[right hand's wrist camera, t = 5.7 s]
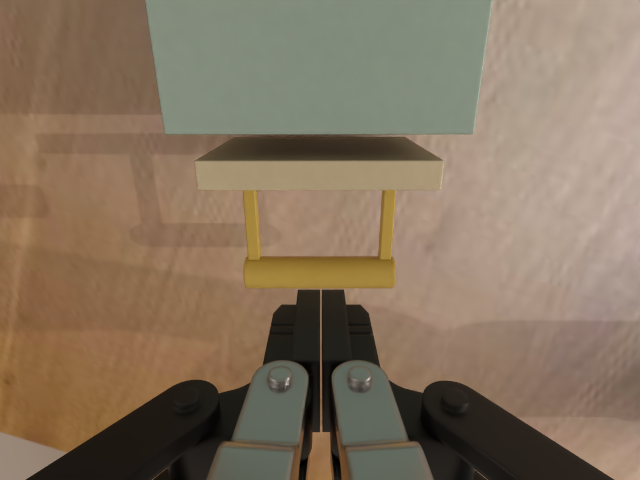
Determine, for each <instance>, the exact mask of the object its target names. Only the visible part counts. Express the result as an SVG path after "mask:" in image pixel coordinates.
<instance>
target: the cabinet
mask: <svg viewBox="0 0 640 480" xmlns="http://www.w3.org/2000/svg"><path fill="white" fill-rule="evenodd" d="M492 2H493V0H145V4H146V11H147V18H148V25H149V31H150V38H151V45H152V52H153V59H154V65H155V72H156V79H157V86H158V93H159V99H160V106H161V113H162V120H163V127H164V133H165V134H167V135H272V134H473V133H474V128H475V121H476V114H477V107H478V100H479V93H480V86H481V79H482V72H483V65H484V58H485V51H486V44H487V37H488V30H489V23H490V16H491V9H492Z"/></svg>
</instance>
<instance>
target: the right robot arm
mask: <svg viewBox="0 0 640 480" xmlns="http://www.w3.org/2000/svg"><path fill="white" fill-rule="evenodd" d="M322 427H323V432H330V442H331V452H330V462H331V471H332V480H487V479H488V480H614V479H612V478H611V477H609V476H608V475H606V474H604V473H603V472H601V471H600V470H598V469H597V468H595V467H593V466H592V465H590V464H589V463H587V462H586V461H584V460H582V459H581V458H579V457H578V456H576V455H575V454H573V453H571V452H570V451H568V450H567V449H565V448H564V447H562V446H560V445H559V444H557V443H556V442H554V441H553V440H551V439H549V438H548V437H546V436H545V435H543V434H542V433H540V432H539V431H537V430H535V429H534V428H532V427H531V426H529V425H528V424H526V423H524V422H523V421H521V420H520V419H518V418H517V417H515V416H513V415H512V414H510V413H509V412H507V411H506V410H504V409H502V408H501V407H499V406H498V405H496V404H495V403H493V402H491V401H490V400H488V399H487V398H485V397H484V396H482V395H480V394H479V393H477V392H476V391H474V390H473V389H471V388H469V387H467V386H465V385H463V384H460V383H457V382H453V381H438V382H434V383H432V384H430V385H428V386H427V387H426V389H425V390H424V392H423V393H421V392H417V391H412V390H408V389H405V388H402V387H400V386H398V385H396V384H394V383H392V382H391V381H390V380H388V377H387V375H386V373H385V372H384V371H383V370H382V369H381V368H380V364H379V360H378V355H377V350H376V346H375V341H374V336H373V332H372V327H371V322H370V317H369V313H368V312H367V311H366V310H365V309H364V308H363V307H362V306H361V305H346V303H345V294H344V290H322ZM312 432H320V290H298V294H297V303H296V305H281V306H280V307H279V308H278V309H277V310H276V311H275V312H274V314H273V318H272V323H271V327H270V332H269V337H268V342H267V347H266V352H265V357H264V362H263V366H261V367H260V368H259V369H258V370H257V371H256V372H255V373H254V375H253V377H252V380H251V382H250V383H249V384H247V385H245V386H243V387H241V388H238V389H235V390H231V391H227V392H223V393H219V394H218V390H217V389H216V387H215V386H214V385H213V384H211V383H209V382H207V381H203V380H189V381H184V382H181V383H179V384H176V385H174V386H172V387H171V388H169V389H167V390H166V391H164V392H163V393H161V394H160V395H158V396H156V397H155V398H153V399H152V400H150V401H149V402H147V403H145V404H144V405H142V406H141V407H139V408H138V409H136V410H134V411H133V412H131V413H130V414H128V415H127V416H125V417H123V418H122V419H120V420H119V421H117V422H116V423H114V424H112V425H111V426H109V427H108V428H106V429H105V430H103V431H101V432H100V433H98V434H97V435H95V436H94V437H92V438H91V439H89V440H87V441H86V442H84V443H83V444H81V445H80V446H78V447H76V448H75V449H73V450H72V451H70V452H69V453H67V454H65V455H64V456H62V457H61V458H59V459H58V460H56V461H54V462H53V463H51V464H50V465H48V466H47V467H45V468H44V469H42V470H40V471H39V472H37V473H36V474H34V475H33V476H31V477H29V478H28V479H26V480H152V479H153V478H155V477H156V476H157V475H158V474H159V475H158V476H157V477H156V478H155V479H153V480H308V471H309V462H310V452H311V449H312ZM166 468H167V469H166ZM165 469H166V470H165ZM163 470H164V471H163ZM476 470H477V471H478V472H479V473H480V474H479V473H478V472H477V471H476ZM162 471H163V472H162ZM161 472H162V473H161ZM160 473H161V474H160ZM481 474H482V475H483V476H484V477H485V478H487V479H485V478H484V477H483V476H482V475H481Z"/></svg>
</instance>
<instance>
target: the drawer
mask: <svg viewBox="0 0 640 480" xmlns="http://www.w3.org/2000/svg"><path fill="white" fill-rule="evenodd" d="M194 163H195V171H196V179H197V188H198V190H243V198H244V211H245V224H246V237H247V250H248V257H246V259H245V263H244V284H245V287H246V288H393V287H394V285H395V279H396V268H395V261H394V258H393V257H391V253H392V240H393V226H394V213H395V199H396V190H441V184H442V176H443V167H444V160H442V159H440V158H439V157H437V156H435V155H434V154H432V153H430V152H429V151H427V150H425V149H424V148H422V147H420V146H419V145H417V144H415V143H414V142H412V141H411V140H409V139H407V138H406V137H234V138H232V139H231V140H229V141H227V142H226V143H224V144H222V145H221V146H219V147H217V148H216V149H214V150H212V151H211V152H209V153H207V154H206V155H204V156H202V157H201V158H199V159H197V160H195V162H194ZM257 190H382V202H381V218H380V235H379V251H378V255H379V256H360V257H260V256H261V247H260V231H259V216H258V200H257Z"/></svg>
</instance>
